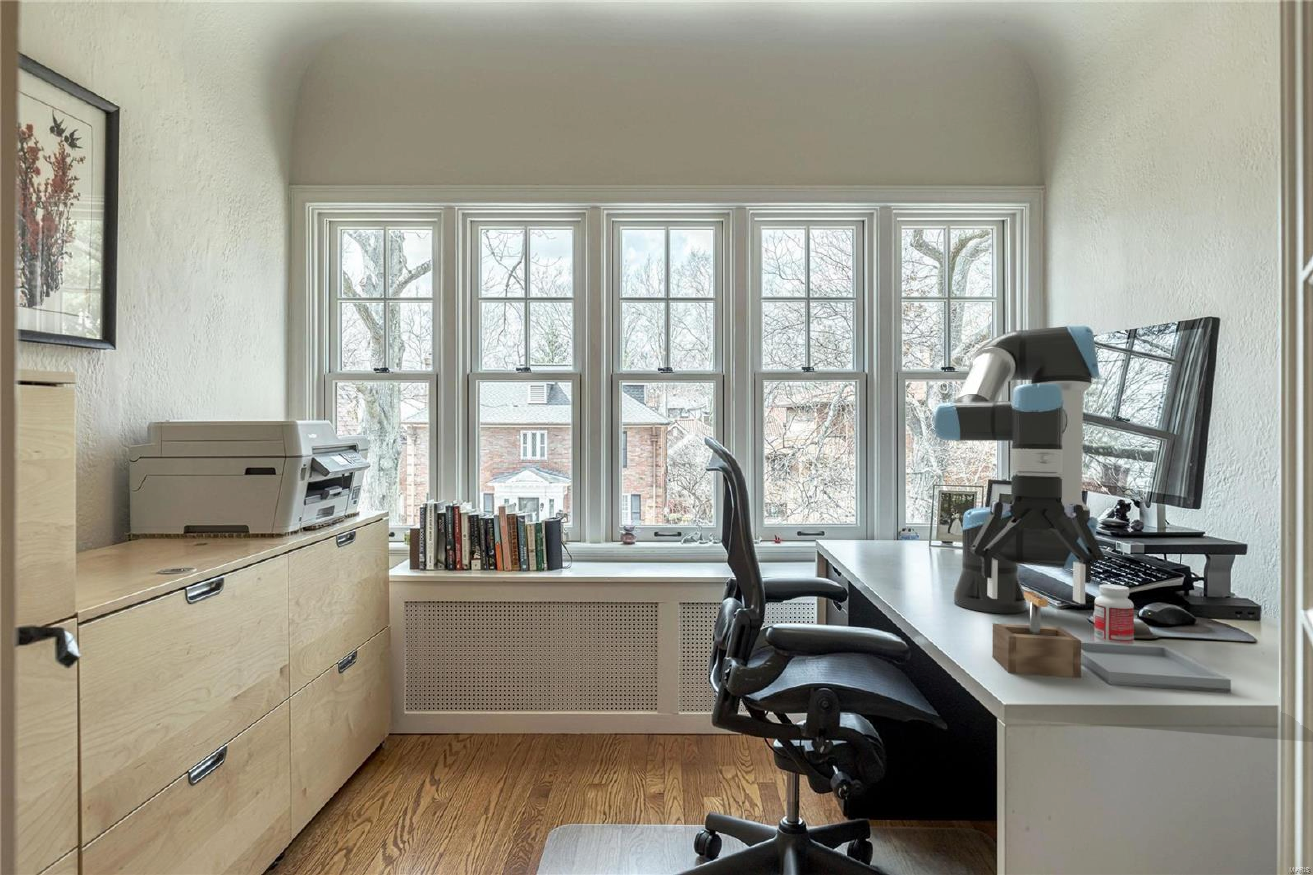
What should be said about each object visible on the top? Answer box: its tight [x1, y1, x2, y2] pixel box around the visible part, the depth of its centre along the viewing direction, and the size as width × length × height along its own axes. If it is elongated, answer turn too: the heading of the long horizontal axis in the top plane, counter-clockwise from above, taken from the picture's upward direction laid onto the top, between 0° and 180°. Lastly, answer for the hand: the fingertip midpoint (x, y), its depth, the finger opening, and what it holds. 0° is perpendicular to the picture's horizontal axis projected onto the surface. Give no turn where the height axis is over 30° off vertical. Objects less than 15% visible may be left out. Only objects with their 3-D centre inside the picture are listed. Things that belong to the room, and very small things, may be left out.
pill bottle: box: [1093, 583, 1135, 644], centre depth 126 cm, size 6×6×11 cm
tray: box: [1081, 640, 1232, 693], centre depth 112 cm, size 17×17×2 cm
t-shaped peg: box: [1023, 590, 1048, 635], centre depth 113 cm, size 6×2×12 cm, turn 170°
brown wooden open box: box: [991, 622, 1082, 678], centre depth 113 cm, size 11×9×6 cm
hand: (1035, 599), depth 112 cm, fingers open, 13 cm apart
